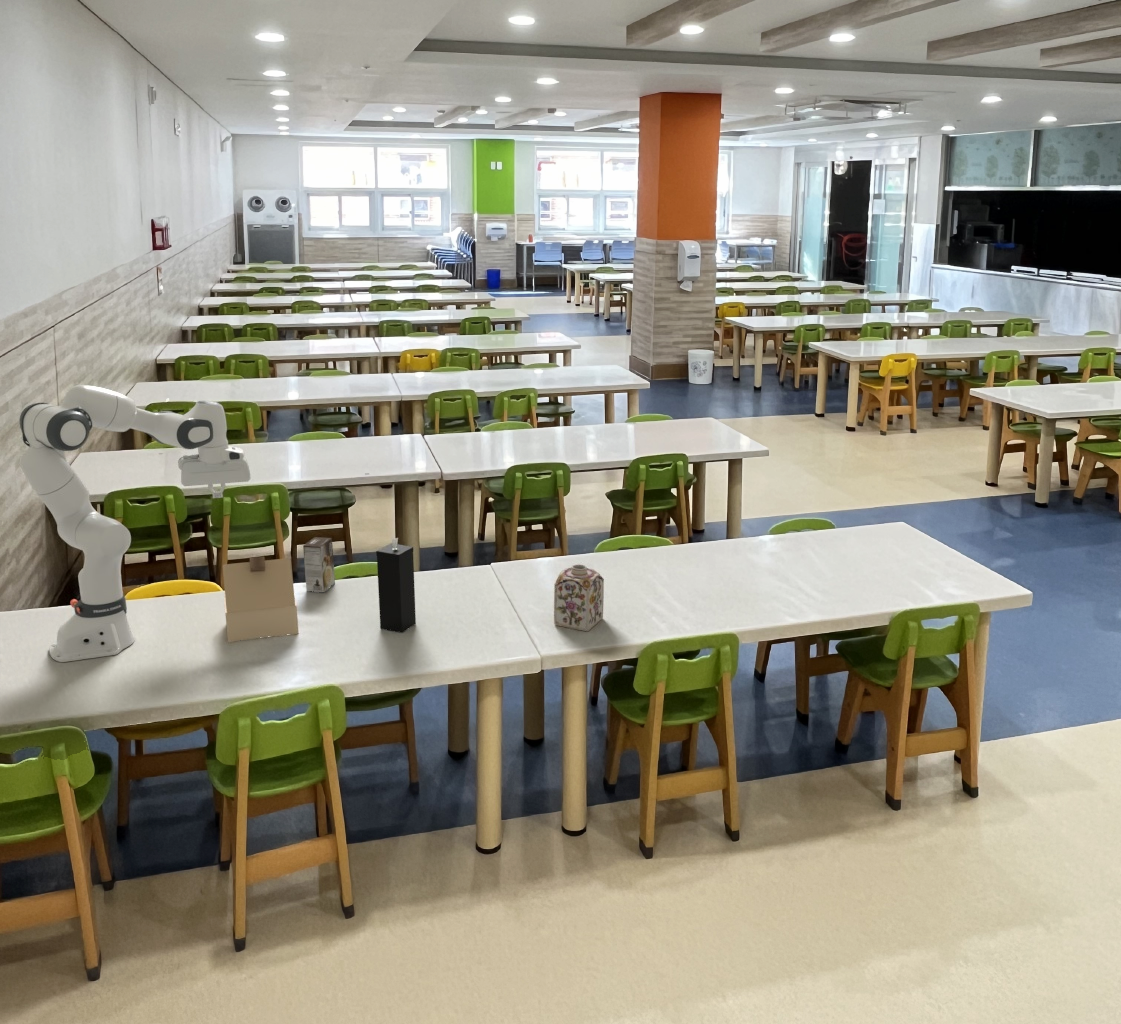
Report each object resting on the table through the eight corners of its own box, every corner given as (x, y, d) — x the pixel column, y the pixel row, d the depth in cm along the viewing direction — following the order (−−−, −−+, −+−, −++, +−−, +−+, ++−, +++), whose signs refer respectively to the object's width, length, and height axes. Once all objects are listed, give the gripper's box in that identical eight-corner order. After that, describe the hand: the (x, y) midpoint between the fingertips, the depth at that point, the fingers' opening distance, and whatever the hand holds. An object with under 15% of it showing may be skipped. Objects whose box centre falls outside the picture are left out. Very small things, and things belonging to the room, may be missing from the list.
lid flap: (226, 613, 310) (226, 609, 302) (222, 565, 312) (221, 560, 304) (295, 605, 316) (296, 601, 307) (290, 558, 318) (291, 553, 310)
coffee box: (317, 581, 359) (314, 536, 354) (335, 583, 358) (332, 537, 353) (305, 591, 351) (302, 545, 346) (324, 593, 349) (321, 546, 345)
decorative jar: (552, 625, 325) (553, 569, 320) (569, 612, 335) (569, 557, 330) (589, 632, 321) (589, 575, 315) (604, 618, 331) (605, 563, 325)
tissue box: (416, 624, 326) (413, 536, 318) (402, 633, 319) (398, 544, 311) (394, 619, 329) (390, 532, 321) (379, 628, 322) (375, 540, 314)
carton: (228, 641, 313) (225, 613, 310) (226, 623, 325) (224, 595, 323) (298, 633, 318) (296, 605, 316) (294, 616, 331) (292, 588, 329)
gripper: (177, 458, 320) (181, 503, 324) (248, 453, 326) (252, 497, 330) (177, 453, 326) (182, 497, 330) (247, 448, 332) (251, 491, 336)
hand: (217, 497), depth 330 cm, fingers closed
